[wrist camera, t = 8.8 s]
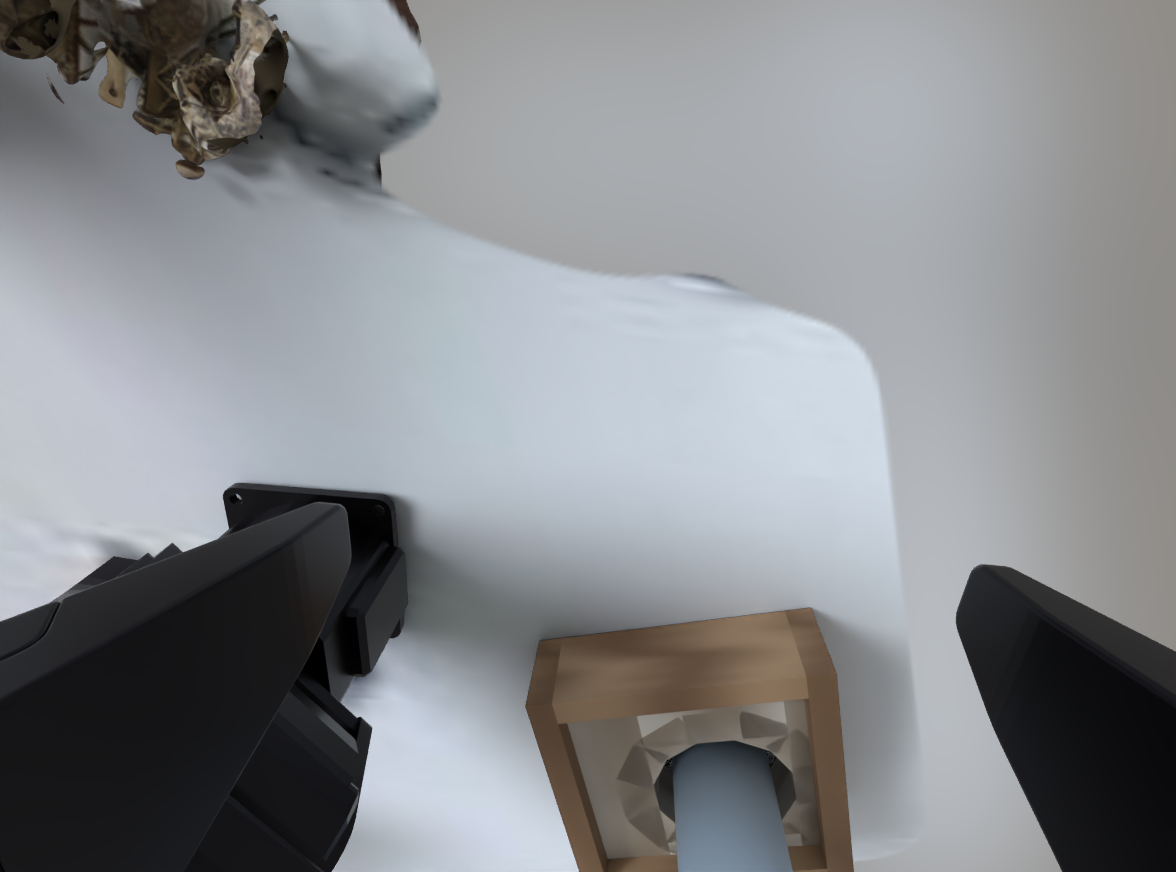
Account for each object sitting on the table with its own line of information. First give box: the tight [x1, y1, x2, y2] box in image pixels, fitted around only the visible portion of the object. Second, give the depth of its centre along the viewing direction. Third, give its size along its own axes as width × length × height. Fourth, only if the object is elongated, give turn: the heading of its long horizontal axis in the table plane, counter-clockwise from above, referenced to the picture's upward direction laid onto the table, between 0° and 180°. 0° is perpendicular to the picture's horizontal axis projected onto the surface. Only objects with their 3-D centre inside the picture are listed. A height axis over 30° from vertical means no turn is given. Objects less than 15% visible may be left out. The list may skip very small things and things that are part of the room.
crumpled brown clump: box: [0, 0, 421, 186], centre depth 18 cm, size 12×6×11 cm
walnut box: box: [525, 608, 854, 872], centre depth 26 cm, size 11×11×4 cm
